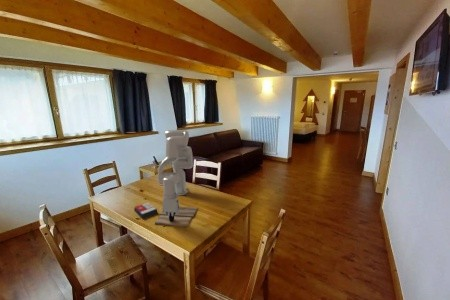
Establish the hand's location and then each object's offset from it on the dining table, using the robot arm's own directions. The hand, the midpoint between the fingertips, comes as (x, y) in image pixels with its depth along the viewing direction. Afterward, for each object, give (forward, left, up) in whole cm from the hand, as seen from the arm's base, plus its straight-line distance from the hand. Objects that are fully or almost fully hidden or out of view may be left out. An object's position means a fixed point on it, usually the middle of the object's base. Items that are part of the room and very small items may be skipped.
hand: (171, 220), depth 141 cm
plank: (-1, 0, -1) cm, 2 cm away
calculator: (-10, -24, -2) cm, 26 cm away
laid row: (-13, 0, -1) cm, 13 cm away
